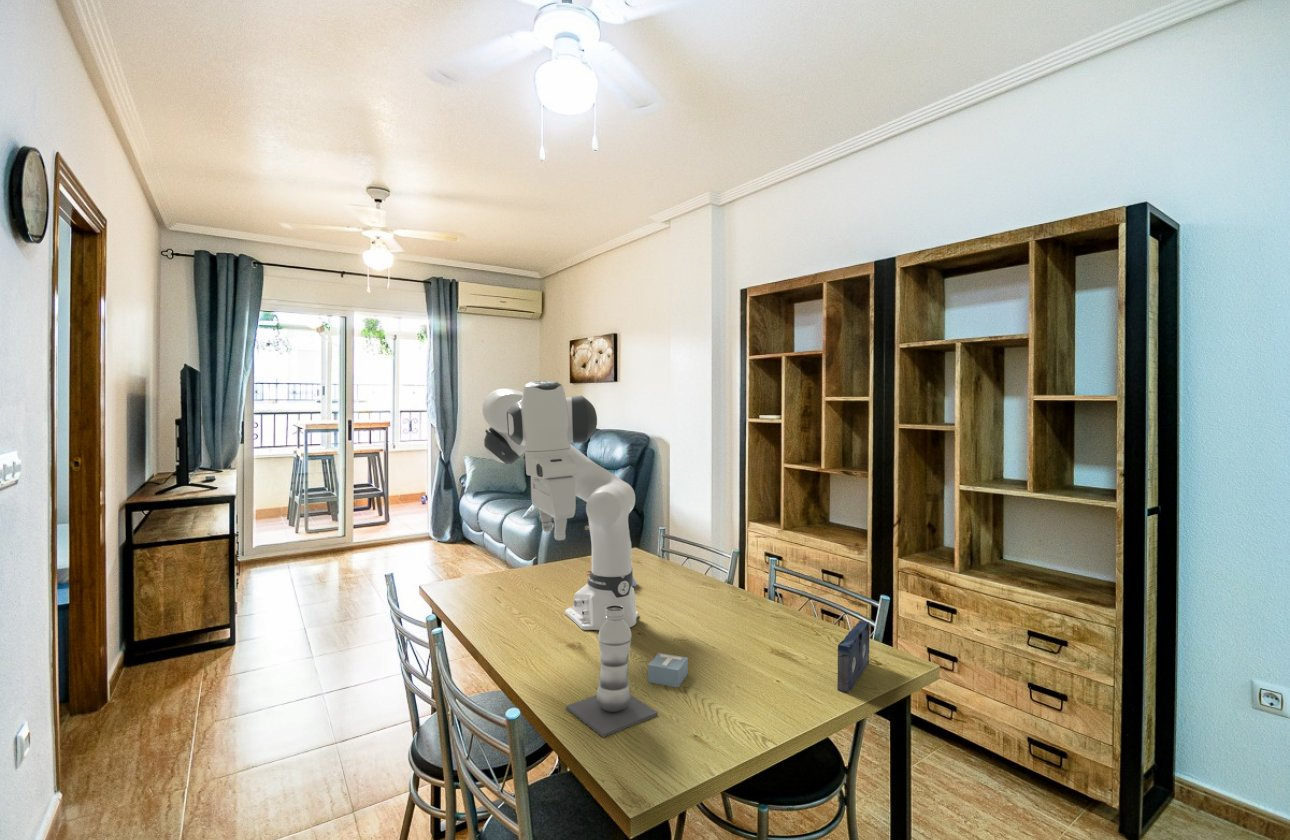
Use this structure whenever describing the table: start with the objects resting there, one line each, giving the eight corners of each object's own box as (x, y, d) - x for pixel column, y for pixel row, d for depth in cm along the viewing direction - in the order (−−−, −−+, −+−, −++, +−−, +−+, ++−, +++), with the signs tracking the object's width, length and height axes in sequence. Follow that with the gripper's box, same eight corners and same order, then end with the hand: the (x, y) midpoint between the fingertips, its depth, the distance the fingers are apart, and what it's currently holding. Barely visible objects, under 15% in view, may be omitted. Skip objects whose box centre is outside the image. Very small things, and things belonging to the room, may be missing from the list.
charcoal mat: (565, 708, 119) (565, 705, 119) (618, 690, 128) (618, 687, 128) (602, 737, 109) (602, 734, 109) (657, 715, 117) (657, 712, 117)
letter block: (647, 682, 132) (648, 663, 131) (658, 670, 138) (658, 651, 138) (678, 688, 129) (678, 668, 129) (687, 675, 136) (687, 656, 135)
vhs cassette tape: (858, 660, 144) (859, 619, 144) (871, 663, 142) (872, 622, 142) (834, 690, 129) (835, 644, 129) (848, 694, 127) (849, 647, 127)
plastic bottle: (596, 700, 122) (597, 603, 121) (629, 699, 122) (630, 602, 122) (596, 717, 115) (597, 614, 115) (631, 715, 116) (633, 613, 115)
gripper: (521, 462, 124) (526, 528, 125) (545, 470, 106) (550, 547, 106) (551, 459, 127) (555, 524, 127) (579, 466, 108) (584, 542, 109)
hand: (553, 535), depth 117 cm, fingers open, 8 cm apart
